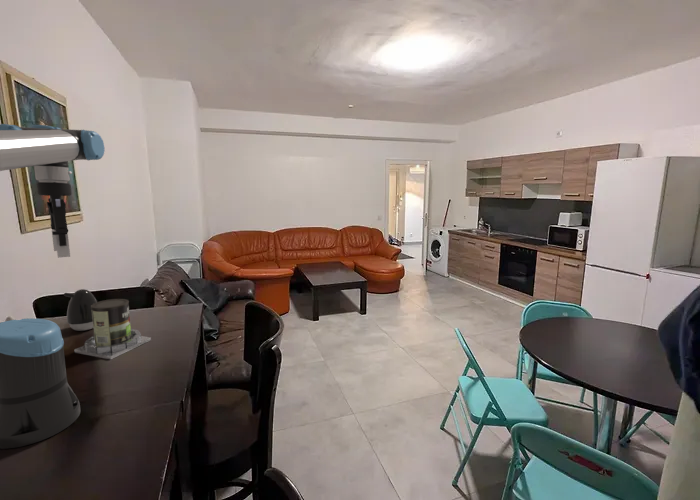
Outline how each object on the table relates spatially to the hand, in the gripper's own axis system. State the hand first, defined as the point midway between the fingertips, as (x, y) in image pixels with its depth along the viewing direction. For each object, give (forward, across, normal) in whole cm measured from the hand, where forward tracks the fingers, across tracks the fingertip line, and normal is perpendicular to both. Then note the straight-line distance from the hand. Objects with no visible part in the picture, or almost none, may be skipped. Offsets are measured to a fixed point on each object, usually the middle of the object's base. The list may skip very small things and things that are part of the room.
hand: (61, 253), depth 102 cm
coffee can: (+32, -1, -11) cm, 34 cm away
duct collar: (+33, -1, -11) cm, 34 cm away
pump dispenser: (+33, +24, -6) cm, 41 cm away
